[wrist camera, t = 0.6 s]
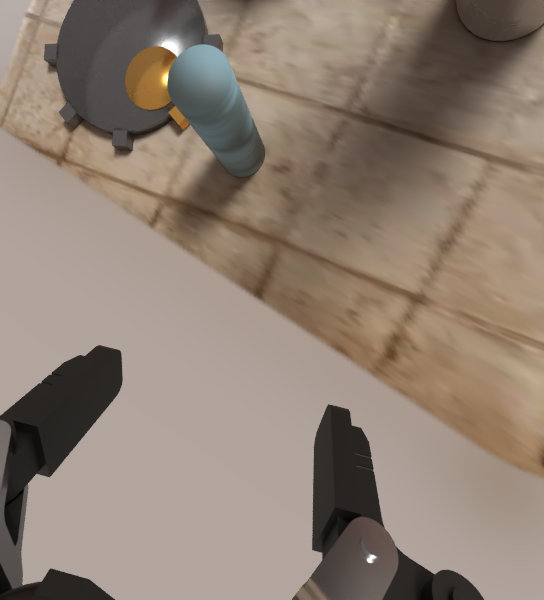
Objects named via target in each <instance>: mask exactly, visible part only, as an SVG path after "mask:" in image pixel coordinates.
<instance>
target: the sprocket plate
mask: <svg viewBox="0 0 544 600" xmlns="http://www.w3.org/2000/svg"><path fill="white" fill-rule="evenodd" d="M201 44H203V45H211V46H214V47H216V48H218V49H219V50H221V51H222V50H223V42H222V39H221V37H220V35H219V34H215V35H208V31H207V26H206V22H205V18H204V16H203V13H202V11H201V8H200V6H199V4H198V1H197V0H74V2H73V4H72V5H71V7H70V9H69V10H68V12H67V14H66V16H65V19H64V21H63V24H62V27H61V29H60V33H59V37H58V43H57V44H45V52H44V60H45V61H46V62H48V63H49V64H50V65H51V66H52V67H57V73H58V78H59V82H60V85H61V88H62V91H63V93H64V95H65V97H66V99H67V100H68V103H67V104H66V105H65V106H64V107H63V108H62V109H61V110H60V111H59V113H60V114H61V116H62V117H63V118H64V120H65V121H66V122H67V123H68V124H70V125H71V126H73V127H74V128H76V127H77V126H78V125H79V123H80V122H81V121H82V120H83V119H85V120H86V121H88V122H89V123H90V124H92V125H93V126H95V127H96V128H98V129H100V130H102V131H104V132H107V133H110V134H113V141H112V146H114V147H115V148H117V149H118V150H133V137H134V136H136V135H141V134H145V133H148V132H151V131H154V130H156V129H158V128H160V127H162V126H164V125H165V124H167V123H168V122H169V121H171V120H172V119H174V120H175V121H176V122H177V124H178V125H179V126H180V127H181V128H182V129H183V131H184V130H185V129H186V128H187V127H188V126H189V125H190V123H189V122H188V121H187V120H186V118H185V117H184V116H183V115H182V113H181V112H180V111H179V110H178V108H177V107H176V106H175V105H174V103H173V102H172V100H171V98H170V96H169V93H168V89H167V78H168V73H169V70H170V68H171V66H172V64H173V62H174V61H175V59H176V58H177V57H178V56H179V55H180V54H181V53H182V52H183V51H185V50H186V49H188V48H190V47H192V46H196V45H201Z"/></svg>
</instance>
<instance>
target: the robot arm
mask: <svg viewBox="0 0 544 600" xmlns="http://www.w3.org/2000/svg"><path fill="white" fill-rule="evenodd" d="M456 6H457V12H458V14H459V17H460V19H461V21H462V22H463V24H464V25H465V27H466V28H467V29H469V30H470V31H471V32H472V33H473V34H475V35H477V36H479V37H481V38H484V39H488V40H492V41H507V40H513V39H517V38H520V37H523V36H526V35H528V34H530V33H531V32H533V31H535V30H536V29H538V28H539V27H540V26H542V25H543V24H544V0H456ZM121 385H122V358H121V352H120V350H117V349H113V348H109V347H105V346H101V345H99V346H96V347H95V348H94V349H93V350H92V351H90V352H89V353H88V354H87V355H86V356H82V355H79V356H77V357H75V358H73V359H71V360H68V361H66V362H64V363H63V364H62V365H61V366H60V367H58V368H57V369H56V370H55V371H53V372H52V375H49V376H47V377H46V378H45V379H44V380H43V381H42V383H41V384H40V383H39V384H38V385H37V386H35V387H34V388H33V389H32V390H31V391H30V392H28V393H27V394H26V395H25V396H24V397H22V398H21V399H20V400H19V401H18V402H16V403H15V404H14V405H13V406H12V407H10V408H9V409H8V410H7V411H6V412H4V413H3V414H2V415H1V416H0V600H115V599H113V598H112V597H111V596H110V595H108V594H107V593H106V592H105V591H103V590H102V589H101V588H99V587H98V586H97V585H96V584H94V583H93V582H92V581H91V580H89V579H86V578H82V577H79V576H75V575H72V574H68V573H65V572H61V571H58V570H54V569H50V570H49V571H48V573H47V574H46V576H45V578H44V579H43V581H42V582H36V583H31V584H26V585H23V586H22V581H23V579H22V577H23V571H22V559H21V550H22V539H23V531H24V521H25V513H26V503H27V495H28V483H29V482H30V480H31V479H32V478H33V477H34V476H35V475H36V474H40V475H43V476H47V477H50V476H51V475H52V474H53V473H54V472H55V470H56V469H57V468H58V467H59V466H60V464H61V463H62V462H63V461H64V459H65V458H66V457H67V456H68V455H69V453H70V452H71V451H72V450H73V448H74V447H75V446H76V445H77V444H78V442H79V441H80V440H81V439H82V438H83V436H84V435H85V434H86V433H87V431H88V430H89V429H90V428H91V427H92V425H93V424H94V423H95V422H96V420H97V419H98V418H99V417H100V416H101V414H102V413H103V412H104V411H105V410H106V408H107V407H108V406H109V404H110V403H111V402H112V401H113V399H114V398H115V397H116V396H117V394H118V393H119V391H120V388H121ZM313 481H314V482H313V539H312V550H314V551H318V552H322V555H323V557H322V559H323V560H322V562H321V563H320V564H319V566H318V567H317V568H316V570H315V571H314V573H313V574H312V576H311V577H310V578H309V579H308V581H307V582H306V583H305V584H304V585H303V586H302V587H301V588H300V590H299V591H298V592H297V593H296V595H295V596H294V597H293V599H292V600H484V599H483V597H482V596H481V594H480V593H479V591H478V590H477V589H476V588H475V587H474V586H473V585H472V584H471V583H470V582H469V581H468V580H467V579H466V578H464V577H463V576H462V575H460V574H458V573H456V572H454V571H450V570H441V571H439V572H438V573H436V574H433V573H431V572H430V571H428V570H427V569H425V568H424V567H422V566H421V565H419V564H417V563H416V562H414V561H413V560H411V559H410V558H408V557H407V556H406V555H404V554H403V553H402V552H401V551H400V550H399V549H398V548H397V547H396V546H395V543H394V541H393V539H392V538H391V536H390V534H389V533H388V532H387V531H386V530H385V528H384V525H383V522H382V517H381V512H380V505H379V499H378V493H377V487H376V481H375V475H374V472H373V464H372V459H371V452H370V446H369V441H368V440H367V438H366V436H365V434H364V432H363V431H362V429H361V428H359V427H355V426H352V425H351V417H350V411H349V410H348V409H345V408H341V407H337V406H333V405H328V406H327V408H326V410H325V413H324V415H323V418H322V420H321V423H320V425H319V428H318V430H317V434H316V438H315V444H314V479H313Z"/></svg>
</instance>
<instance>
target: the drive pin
mask: <svg viewBox="0 0 544 600" xmlns="http://www.w3.org/2000/svg"><path fill="white" fill-rule="evenodd" d="M167 89H168V93H169V96H170V98H171V100H172V102H173V103H174V105H175V106H176V107H177V108H178V110H179V111H180V112H181V113H182V115H183V116H184V117H185V118H186V120H187V121H188V122H189V123H190V125H191V126H192V127H193V128H194V130H195V131H196V132H197V134H198V135H199V136H200V137H201V139H202V140H203V141H204V142H205V144H206V145H207V146H208V147H209V149H210V150H211V151H212V152H213V154H214V155H215V156H216V157H217V159H218V160H219V161H220V163H221V164H222V165H223V166H224V168H225V169H226V170H227V171H228V172H229V173H230V174H232V175H234V176H236V177H247V176H250V175H252V174H254V173H255V172H256V171H257V170H258V169H259V168H260V167H261V165H262V164H263V161H264V157H265V149H264V145H263V143H262V140H261V138H260V135H259V133H258V131H257V128H256V126H255V123H254V121H253V119H252V116H251V114H250V111H249V109H248V107H247V104H246V102H245V99H244V97H243V94H242V92H241V90H240V87H239V85H238V82H237V80H236V78H235V75H234V73H233V70H232V68H231V66H230V63H229V61H228V59H227V57H226V56H225V55H224V53H223V52H222V51H221V50H219V49H218V48H216V47H214V46H211V45H203V44H201V45H196V46H192V47H190V48H188V49H186V50H185V51H183V52H182V53H181V54H180V55H179V56H178V57H177V58H176V59H175V61H174V62H173V64H172V66H171V68H170V70H169V73H168V78H167Z"/></svg>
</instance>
